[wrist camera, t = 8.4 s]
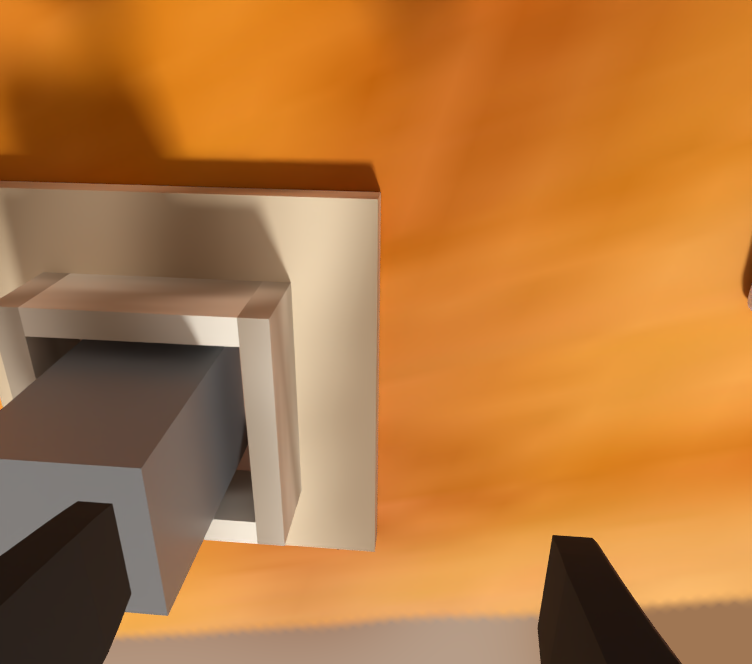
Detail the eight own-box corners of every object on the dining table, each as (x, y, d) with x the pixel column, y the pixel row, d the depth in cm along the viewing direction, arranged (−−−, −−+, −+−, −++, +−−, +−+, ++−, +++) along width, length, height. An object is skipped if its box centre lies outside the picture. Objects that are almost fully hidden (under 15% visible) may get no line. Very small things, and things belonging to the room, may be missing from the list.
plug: (237, 328, 18) (141, 468, 13) (247, 444, 20) (167, 615, 14) (102, 322, 19) (-52, 455, 13) (124, 436, 20) (-4, 600, 15)
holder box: (380, 192, 17) (367, 225, 14) (376, 535, 22) (366, 612, 19) (-40, 179, 18) (-133, 209, 15) (48, 511, 23) (-9, 580, 20)
